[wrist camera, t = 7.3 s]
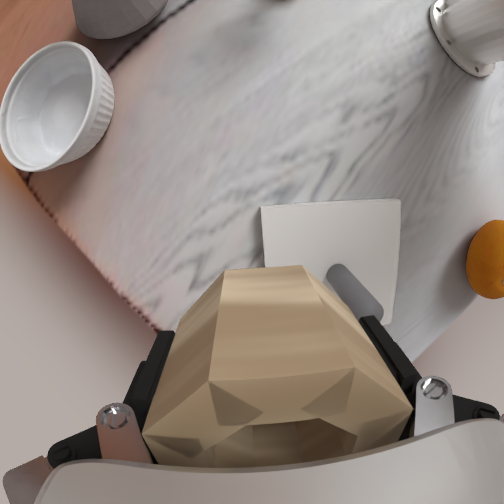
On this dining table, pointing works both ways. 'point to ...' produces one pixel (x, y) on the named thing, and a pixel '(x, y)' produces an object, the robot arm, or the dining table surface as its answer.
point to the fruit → (487, 260)
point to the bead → (271, 378)
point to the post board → (340, 248)
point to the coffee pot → (114, 16)
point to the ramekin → (55, 107)
